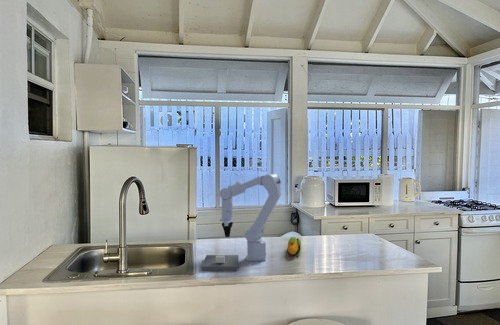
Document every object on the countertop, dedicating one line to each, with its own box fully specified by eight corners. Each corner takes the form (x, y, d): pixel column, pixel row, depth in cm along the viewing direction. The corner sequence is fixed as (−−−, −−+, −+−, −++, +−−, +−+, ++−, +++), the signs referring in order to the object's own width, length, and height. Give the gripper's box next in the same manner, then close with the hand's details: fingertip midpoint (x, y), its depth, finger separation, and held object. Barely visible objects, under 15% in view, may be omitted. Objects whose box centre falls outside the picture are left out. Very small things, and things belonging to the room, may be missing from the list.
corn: (300, 234, 186) (300, 244, 166) (301, 247, 186) (301, 259, 167) (287, 234, 187) (284, 244, 168) (288, 248, 188) (286, 260, 168)
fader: (224, 261, 158) (224, 254, 158) (224, 263, 156) (224, 256, 155) (216, 261, 158) (216, 254, 158) (215, 263, 156) (215, 256, 155)
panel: (238, 259, 168) (238, 254, 168) (236, 270, 152) (236, 266, 152) (206, 259, 168) (206, 254, 168) (201, 270, 152) (201, 266, 152)
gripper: (220, 208, 181) (221, 233, 182) (218, 213, 167) (218, 240, 168) (233, 208, 181) (234, 233, 182) (232, 213, 167) (232, 240, 168)
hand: (227, 236), depth 175 cm, fingers closed
